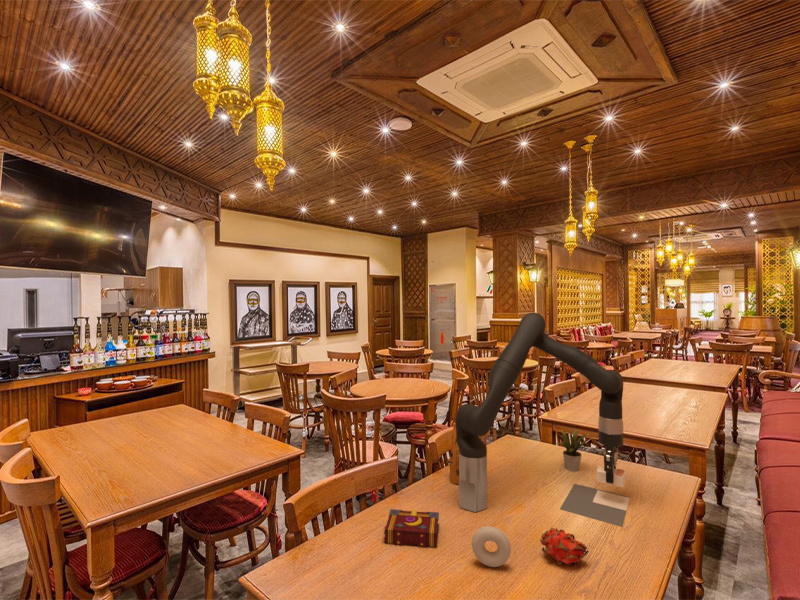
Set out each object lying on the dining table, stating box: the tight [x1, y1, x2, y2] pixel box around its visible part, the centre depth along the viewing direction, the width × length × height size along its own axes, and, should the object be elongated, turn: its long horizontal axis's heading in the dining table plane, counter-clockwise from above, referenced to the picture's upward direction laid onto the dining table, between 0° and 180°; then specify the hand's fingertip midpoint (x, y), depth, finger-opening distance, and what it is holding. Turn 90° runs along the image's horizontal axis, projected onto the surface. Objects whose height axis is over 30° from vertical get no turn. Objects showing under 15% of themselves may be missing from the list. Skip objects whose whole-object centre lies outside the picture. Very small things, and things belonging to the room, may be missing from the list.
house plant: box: [555, 427, 590, 472], centre depth 162 cm, size 14×14×16 cm
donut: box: [471, 525, 512, 568], centre depth 105 cm, size 10×4×10 cm, turn 75°
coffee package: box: [449, 421, 482, 485], centre depth 154 cm, size 10×12×22 cm
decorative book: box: [383, 508, 440, 549], centre depth 119 cm, size 11×16×5 cm
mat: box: [559, 483, 631, 528], centre depth 135 cm, size 22×18×1 cm
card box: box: [596, 464, 626, 488], centre depth 137 cm, size 8×6×4 cm
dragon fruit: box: [540, 527, 589, 567], centre depth 106 cm, size 8×8×12 cm
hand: (610, 479), depth 137 cm, fingers closed on card box, 5 cm apart
